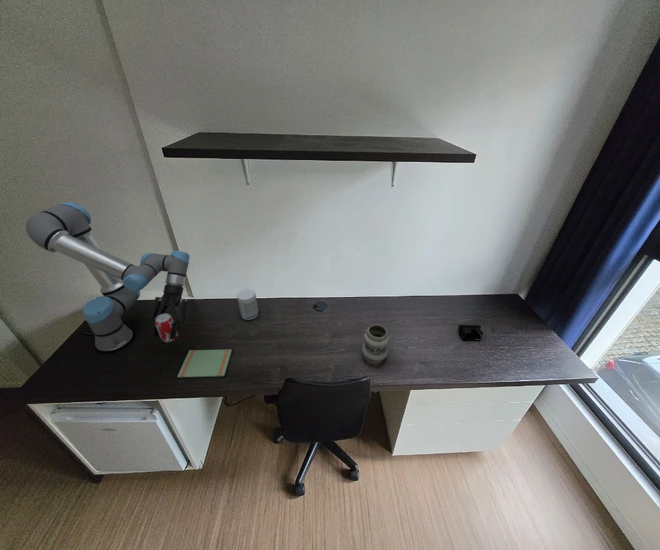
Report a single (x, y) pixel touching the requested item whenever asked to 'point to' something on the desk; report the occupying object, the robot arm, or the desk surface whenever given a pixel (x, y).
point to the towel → (205, 363)
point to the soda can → (165, 326)
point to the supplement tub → (247, 304)
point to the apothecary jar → (375, 345)
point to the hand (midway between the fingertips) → (163, 337)
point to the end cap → (469, 332)
